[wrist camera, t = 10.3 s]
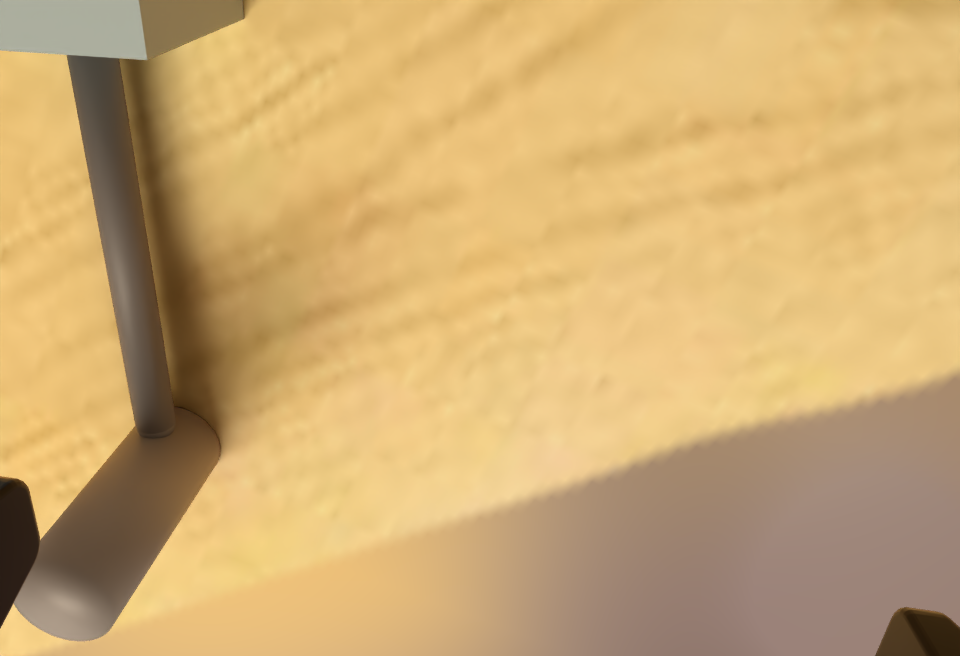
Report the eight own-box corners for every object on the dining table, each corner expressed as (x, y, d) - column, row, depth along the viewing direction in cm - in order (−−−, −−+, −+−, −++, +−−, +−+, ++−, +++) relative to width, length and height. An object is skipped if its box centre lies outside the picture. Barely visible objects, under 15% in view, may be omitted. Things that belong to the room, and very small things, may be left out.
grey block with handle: (207, -401, 15) (-3, -545, 10) (285, 487, 24) (199, 657, 19) (-112, -406, 16) (-474, -546, 10) (85, 465, 25) (-52, 624, 20)
